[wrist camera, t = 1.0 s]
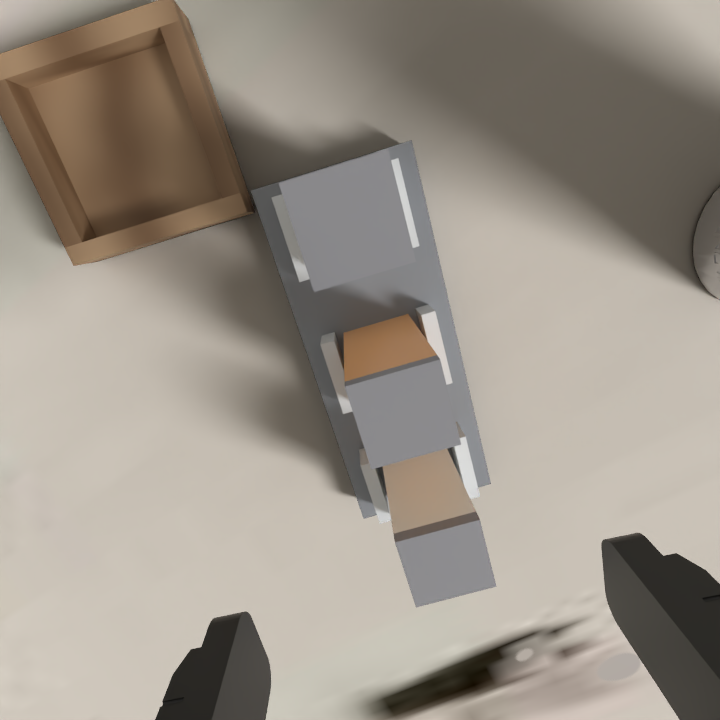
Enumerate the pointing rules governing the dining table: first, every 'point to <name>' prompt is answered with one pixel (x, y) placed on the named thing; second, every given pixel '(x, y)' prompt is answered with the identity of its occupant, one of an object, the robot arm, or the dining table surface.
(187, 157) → the tray
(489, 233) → the dining table surface
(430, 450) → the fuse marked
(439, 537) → the fuse block
